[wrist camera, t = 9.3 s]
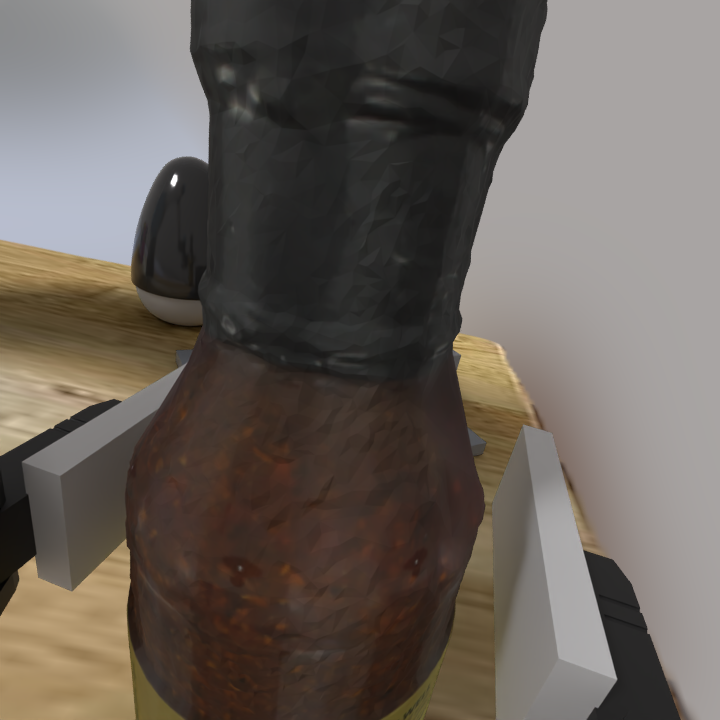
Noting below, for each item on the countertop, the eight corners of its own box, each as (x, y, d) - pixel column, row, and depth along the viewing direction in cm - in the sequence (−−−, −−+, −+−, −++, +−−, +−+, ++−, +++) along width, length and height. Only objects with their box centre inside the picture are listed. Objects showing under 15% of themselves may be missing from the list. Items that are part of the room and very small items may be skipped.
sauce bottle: (393, 757, 15) (658, 79, 7) (315, 1082, 10) (1093, -296, 2) (226, 669, 17) (292, 28, 9) (76, 905, 11) (-115, -253, 3)
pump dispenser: (246, 338, 44) (261, 172, 38) (126, 334, 40) (121, 148, 34) (235, 303, 53) (246, 163, 46) (136, 296, 49) (133, 143, 43)
